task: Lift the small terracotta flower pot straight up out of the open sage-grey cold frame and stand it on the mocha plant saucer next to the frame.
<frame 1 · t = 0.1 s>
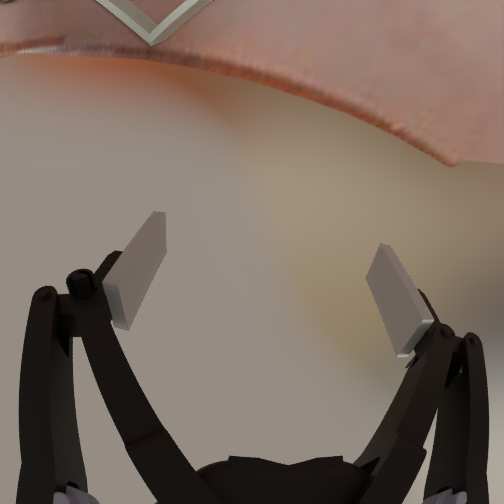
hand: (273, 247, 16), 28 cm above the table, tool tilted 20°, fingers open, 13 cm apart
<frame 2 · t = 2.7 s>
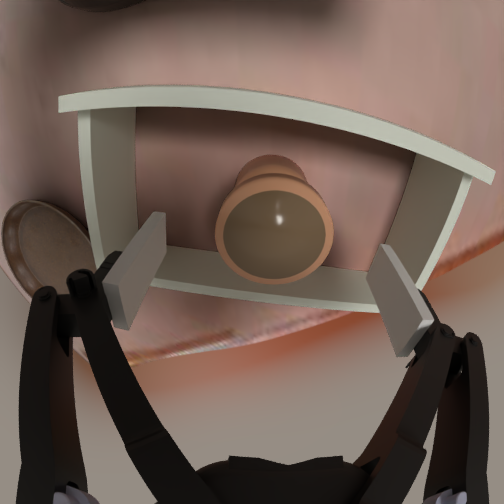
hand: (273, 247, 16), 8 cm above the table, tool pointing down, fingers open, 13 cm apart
cold frame: (271, 189, 23), on the table
terracotta pot: (272, 209, 20), in the cold frame
plant saucer: (61, 254, 28), on the table
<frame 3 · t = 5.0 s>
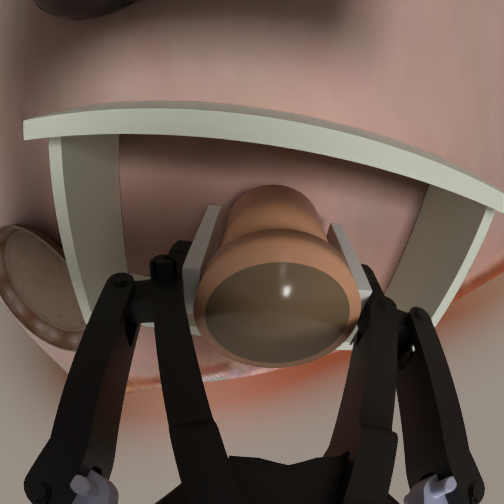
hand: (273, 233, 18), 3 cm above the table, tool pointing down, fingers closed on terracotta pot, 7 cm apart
cold frame: (271, 220, 21), on the table
terracotta pot: (275, 265, 15), point 7 cm above the table, touching gripper
plant saucer: (48, 281, 26), on the table
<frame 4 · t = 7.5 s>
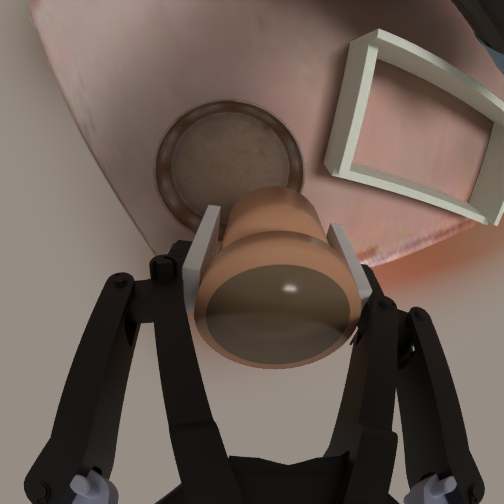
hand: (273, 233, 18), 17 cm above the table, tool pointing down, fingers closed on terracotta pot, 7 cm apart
cold frame: (427, 134, 28), on the table
terracotta pot: (275, 267, 15), point 21 cm above the table, touching gripper
plant saucer: (230, 168, 33), on the table
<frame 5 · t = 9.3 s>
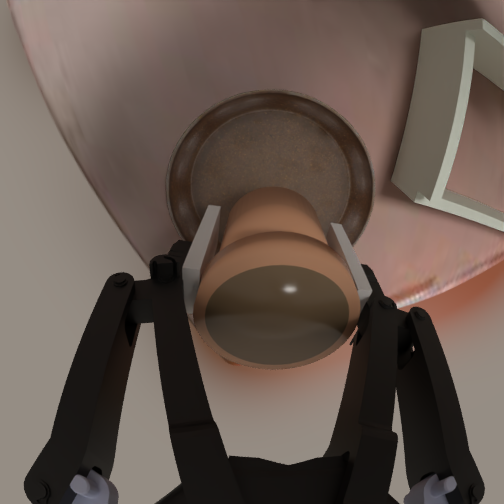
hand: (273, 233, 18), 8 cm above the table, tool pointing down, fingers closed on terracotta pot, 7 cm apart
cold frame: (496, 147, 19), on the table
terracotta pot: (275, 267, 15), point 12 cm above the table, touching gripper
plant saucer: (271, 186, 25), on the table
when the fingers open (5 cm above the table, at t = 10.3 s): terracotta pot drops 2 cm, resting on plant saucer.
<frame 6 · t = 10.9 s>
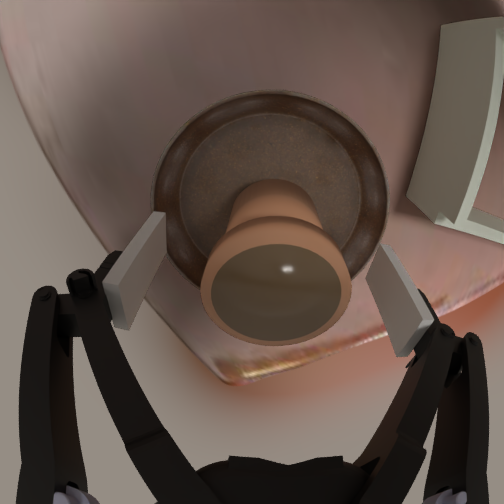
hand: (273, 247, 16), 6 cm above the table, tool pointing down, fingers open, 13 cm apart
terracotta pot: (275, 251, 16), point 7 cm above the table, touching plant saucer
plant saucer: (271, 201, 22), on the table, touching terracotta pot
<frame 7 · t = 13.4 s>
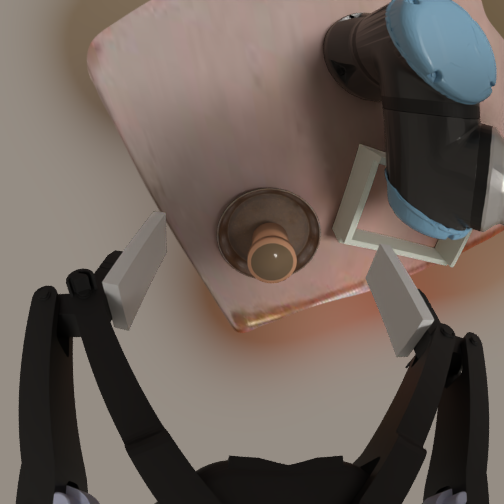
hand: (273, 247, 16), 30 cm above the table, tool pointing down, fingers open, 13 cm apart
cold frame: (406, 205, 45), on the table
terracotta pot: (271, 249, 43), point 7 cm above the table, tilted 6°, touching plant saucer
plant saucer: (268, 229, 50), on the table, touching terracotta pot
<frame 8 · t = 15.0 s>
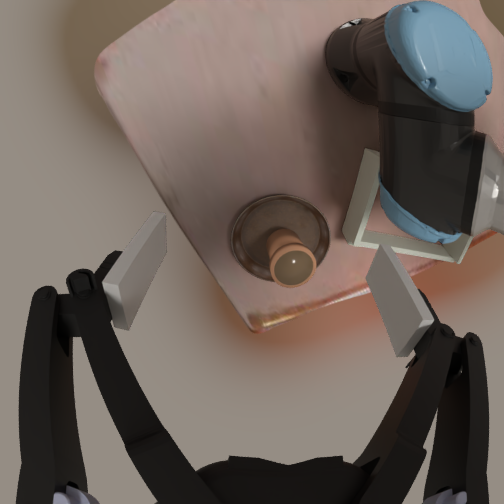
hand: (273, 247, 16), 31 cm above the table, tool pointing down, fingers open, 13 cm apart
cold frame: (412, 205, 46), on the table
terracotta pot: (288, 255, 45), point 7 cm above the table, tilted 10°, touching plant saucer
plant saucer: (280, 234, 51), on the table, touching terracotta pot
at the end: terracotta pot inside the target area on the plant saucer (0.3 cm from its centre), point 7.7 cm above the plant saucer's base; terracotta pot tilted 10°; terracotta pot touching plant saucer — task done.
